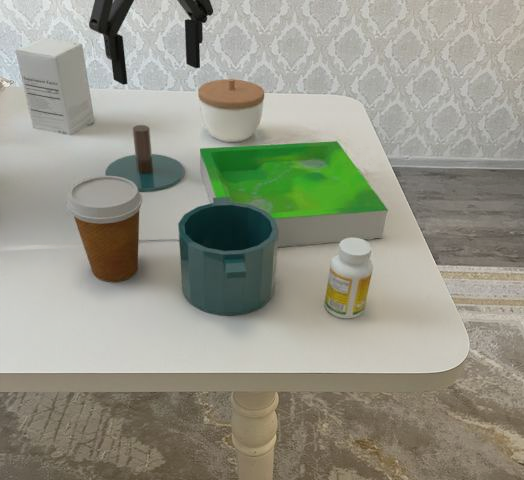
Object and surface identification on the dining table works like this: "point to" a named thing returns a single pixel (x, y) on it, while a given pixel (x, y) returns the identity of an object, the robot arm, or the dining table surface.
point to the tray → (297, 190)
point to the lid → (146, 165)
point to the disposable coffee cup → (108, 224)
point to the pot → (228, 257)
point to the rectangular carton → (56, 85)
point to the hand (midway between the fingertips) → (158, 73)
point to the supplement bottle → (349, 278)
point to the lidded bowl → (231, 108)
